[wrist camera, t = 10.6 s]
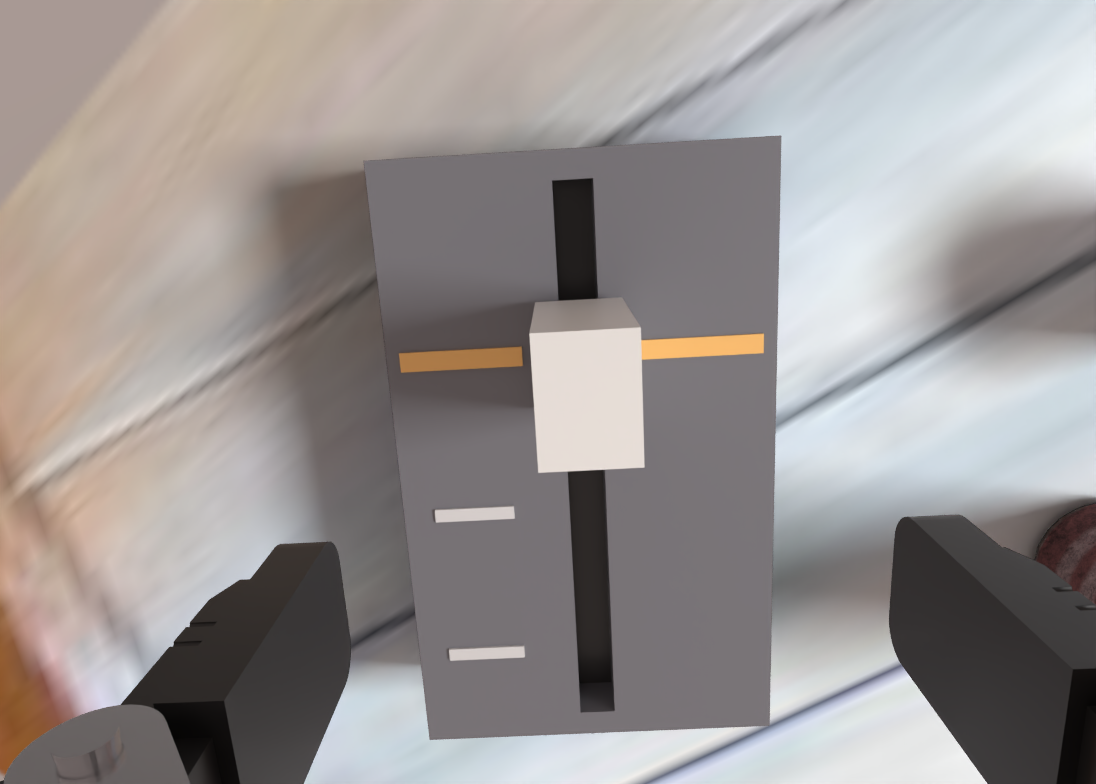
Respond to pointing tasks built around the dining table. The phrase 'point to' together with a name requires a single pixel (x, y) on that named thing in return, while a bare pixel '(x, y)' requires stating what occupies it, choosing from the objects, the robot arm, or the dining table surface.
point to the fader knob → (587, 385)
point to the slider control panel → (593, 495)
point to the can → (1072, 550)
